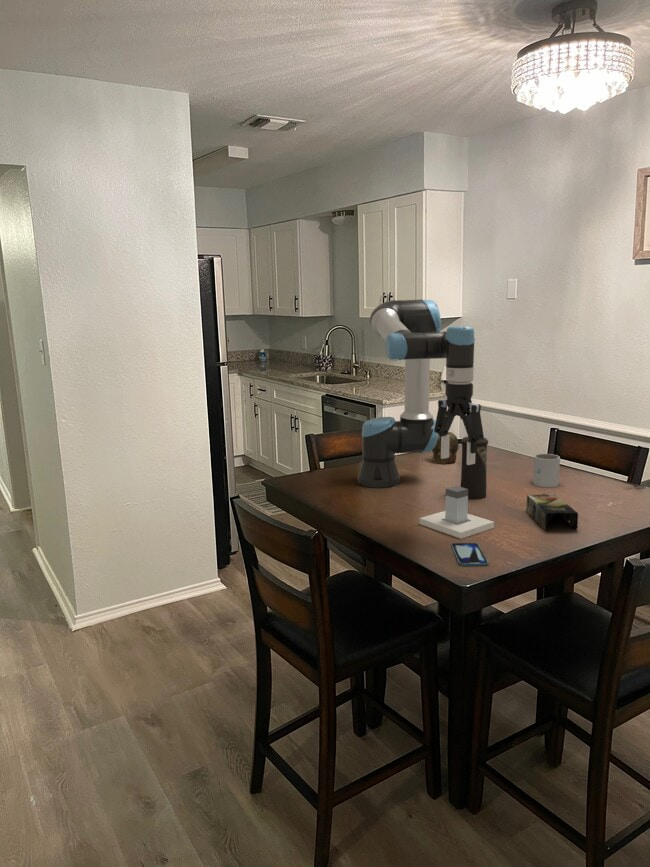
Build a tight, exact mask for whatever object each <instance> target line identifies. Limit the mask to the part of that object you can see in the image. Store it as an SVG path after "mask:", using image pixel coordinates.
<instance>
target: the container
mask: <svg viewBox="0 0 650 867" xmlns="http://www.w3.org/2000/svg"><path fill="white" fill-rule="evenodd" d="M468 441H469V437H468V436H464V437H463V438H461V439H460V444H461V445H462V446H461V471H460V472H461V474H460V487H462V488H466V489H468V499H479V500H480V499H484V498H486V497H487V465H488V464H487V459H488V458H487V456H488V455H487V453H488V445H489V439H488V438H486V437H484V439H483V440H479V441H478V442H477V453H475V464H471V465H467V442H468Z"/></svg>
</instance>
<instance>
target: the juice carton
mask: <svg viewBox="0 0 650 867" xmlns="http://www.w3.org/2000/svg"><path fill="white" fill-rule="evenodd" d="M525 502H526V503H525V504H526V506H525V507H526V509H525V511H526V513H528V515H529V516H530V517H531V518H533V520H534V522H536V523H537V524H538V525H539V526H540V527H541V529H542V530H544V531H545V532H548V530H547V529H548V526H549V521H550V519H551V518H552V517H553V516H555V515H559V514H560V515H561V516H562V519H563V520H565V519H566V520H565V521H566V522H567V521H568V522H569V526H570V527H569V529H570V530H575V531H576V530H578V526H579V524H578V522H579V513H578V512H577V511H576V510H574V508H572V507H571V506H570V505H569V504H567V503H566V501H564V500H563V499H562V498H560V496H558V495H557V494H553V493H548V494H547V493H539V494H527V495H526V501H525ZM560 515H559V516H560ZM568 522H567V523H568Z"/></svg>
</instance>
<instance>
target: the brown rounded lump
mask: <svg viewBox="0 0 650 867" xmlns="http://www.w3.org/2000/svg"><path fill="white" fill-rule="evenodd" d="M448 433H449V434H448V435H449V436H450V440H449V458H445V459H441V446H440V436H439V434H438V438H437V442H436V445H435V447H434V449H433V450H432V451H431V452H432V458H433V459H432V460H433V462H434V463H435V464H438V465H451V464H454V463H455V462H456V461H457V454H458V451H459V439H458V437H457V435H455V433H453V432H451V431H448ZM446 436H447V435H446Z"/></svg>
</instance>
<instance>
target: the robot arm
mask: <svg viewBox="0 0 650 867" xmlns="http://www.w3.org/2000/svg"><path fill="white" fill-rule="evenodd" d="M369 324H370V328H371V330H372V331H373V333H374V334H376V336H379V337H381V338H383V340H384V342H385V344H384V345H385V346H384V347H385V353H386V357H387V358H388V359H389V360H396V361H403V360H405V361H404V411H403V412H402V413H401V414H400V415H399V420H395V418H394V417H392V416H380V417H374V418H370V419H368V420H366V421H365V422H363V423H362V428H361V429H362V430H361V437H362V438H361V441H362V444H361V445H362V448H361V450H362V458H361V459H362V461H361V466H360V469H359V472H358V475H357V483H358V484H359V485H360V484H361V485H360V486H364V487H368V488H369V487H370V488H388V487H394V486H397V485H399V484H400V474H399V472H398V469H397V468H398V467H397V465H396V462H395V460H396V459H395V455H396V454H414V453H418V454H423V453H429V452H432V450H433V449H434V447H435V445H436V442H437V438H438V434H439V436H440V446H441V459H445V458H449V440H450V436H449V435H448V434H449V433H448V432H450V429H451V426H452V424H453V422H454V421H455V417H456V416H457V417H459V418H460V420H462V423H463V425H464V429H465V432H466V434H467V437H469V441H468V442H467V465H471V464H475V453H477V442H478V441H479V440H483V439H484V438H485V437H484V431H483V430H484V429H483V423H482V416H481V409H482V405H481V404H479V403H478V404H475V403H473V400H472V397H473V396H474V383H472V382H473V381H474V359H475V357H474V356H475V342H476V341H475V340H476V338H475V329H474V327H472V326H470V325H469V326H464V325H459V326H458V325H457V326H456V325H453V326H448V327H447V329H446V331H441V328H442V319H441V313H440V309H439V307H438V304H437V303H436V302H435V301H434V300H431V299H423V298H422V299H402V300H401V299H399V300H396V299H395V300H387V301H385V302H383V303H381V304H379V305H378V306H377V307H375V308H374V309H373V310H372V312H371V314H370V317H369ZM431 359H433V360H434V359H435V360H436V359H445V381H446V382H447V383H445V396H446V399H439V400H438V401H437V406H438V408H437V413H436V419H434V416H433V414H432V413H431V412H430V411H429V409H430V406H429V405H430V375H431V374H430V368H431V365H430V363H431ZM446 435H447V436H446Z"/></svg>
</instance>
